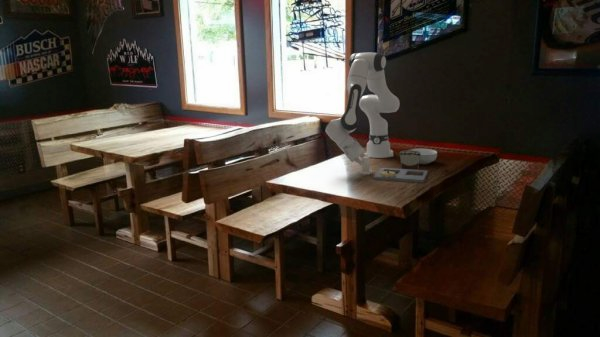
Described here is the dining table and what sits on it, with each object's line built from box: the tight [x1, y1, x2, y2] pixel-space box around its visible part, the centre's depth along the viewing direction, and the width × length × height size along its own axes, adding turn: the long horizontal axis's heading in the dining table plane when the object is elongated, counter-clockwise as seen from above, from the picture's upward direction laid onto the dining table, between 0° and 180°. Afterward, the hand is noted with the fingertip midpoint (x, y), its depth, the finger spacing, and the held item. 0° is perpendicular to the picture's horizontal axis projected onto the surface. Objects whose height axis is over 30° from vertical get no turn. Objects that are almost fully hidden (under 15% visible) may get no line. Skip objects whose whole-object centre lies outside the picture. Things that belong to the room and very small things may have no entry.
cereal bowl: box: [411, 148, 438, 165], centre depth 294 cm, size 17×17×7 cm
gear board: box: [372, 167, 429, 184], centre depth 266 cm, size 20×26×5 cm
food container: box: [399, 149, 421, 170], centre depth 282 cm, size 12×6×10 cm, turn 74°
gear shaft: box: [358, 156, 373, 176], centre depth 274 cm, size 7×7×9 cm
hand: (364, 162), depth 274 cm, fingers open, 8 cm apart
